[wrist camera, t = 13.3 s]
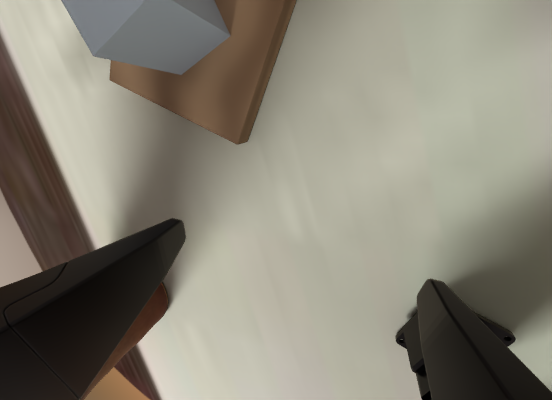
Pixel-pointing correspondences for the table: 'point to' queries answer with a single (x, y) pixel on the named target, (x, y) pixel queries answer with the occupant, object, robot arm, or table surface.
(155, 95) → the walnut block
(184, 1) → the blue-grey block
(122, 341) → the wafer roll
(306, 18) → the table surface
